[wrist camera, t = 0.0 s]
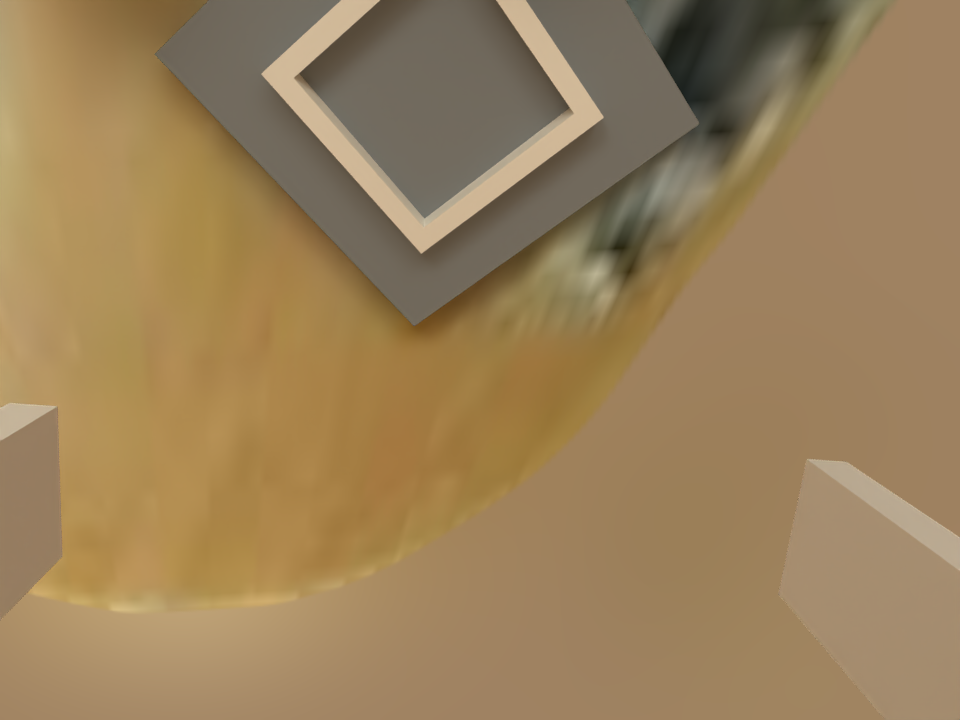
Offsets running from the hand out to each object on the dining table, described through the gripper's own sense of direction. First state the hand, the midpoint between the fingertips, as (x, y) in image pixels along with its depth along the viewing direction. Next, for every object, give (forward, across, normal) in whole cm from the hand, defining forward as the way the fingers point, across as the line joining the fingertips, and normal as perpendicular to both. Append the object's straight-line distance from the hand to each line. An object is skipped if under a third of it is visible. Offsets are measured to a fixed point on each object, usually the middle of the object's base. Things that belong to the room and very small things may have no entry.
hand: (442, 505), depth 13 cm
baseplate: (+26, -1, +10) cm, 28 cm away
